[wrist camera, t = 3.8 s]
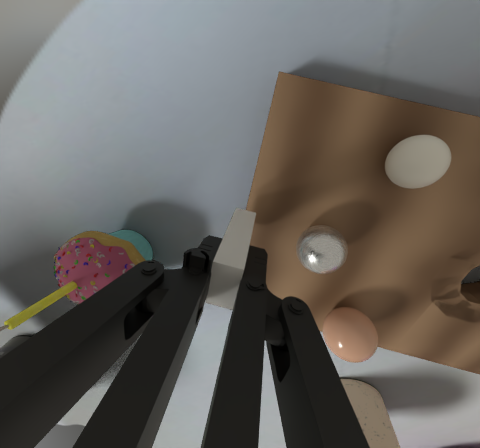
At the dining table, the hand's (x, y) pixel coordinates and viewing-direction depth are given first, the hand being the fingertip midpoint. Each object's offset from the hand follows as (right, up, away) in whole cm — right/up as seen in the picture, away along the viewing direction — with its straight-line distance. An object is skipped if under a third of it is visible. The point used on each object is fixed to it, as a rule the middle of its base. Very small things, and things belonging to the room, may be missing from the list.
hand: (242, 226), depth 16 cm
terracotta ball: (+9, -9, +2) cm, 13 cm away
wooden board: (+14, -2, +3) cm, 14 cm away
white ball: (+10, +4, -4) cm, 11 cm away
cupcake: (-12, -2, +8) cm, 14 cm away
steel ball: (+6, -2, 0) cm, 6 cm away
